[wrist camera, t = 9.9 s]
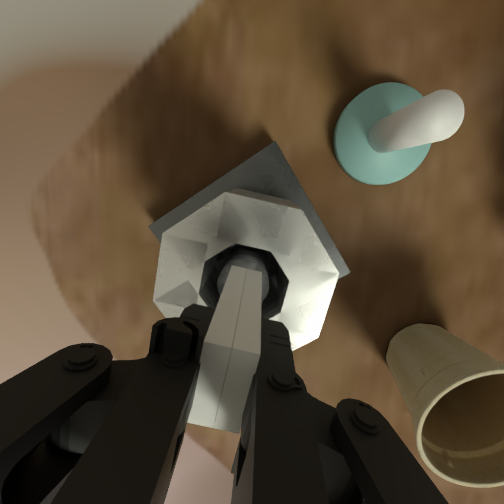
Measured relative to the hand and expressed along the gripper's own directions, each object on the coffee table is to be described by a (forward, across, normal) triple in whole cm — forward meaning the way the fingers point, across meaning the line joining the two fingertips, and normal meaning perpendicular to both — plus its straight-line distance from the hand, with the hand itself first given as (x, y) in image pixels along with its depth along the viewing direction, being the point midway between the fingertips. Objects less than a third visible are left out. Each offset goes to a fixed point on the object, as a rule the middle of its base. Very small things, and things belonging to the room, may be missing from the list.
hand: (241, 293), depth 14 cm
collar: (+6, 0, 0) cm, 6 cm away
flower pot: (+11, +18, -6) cm, 22 cm away
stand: (+10, +8, +11) cm, 17 cm away
